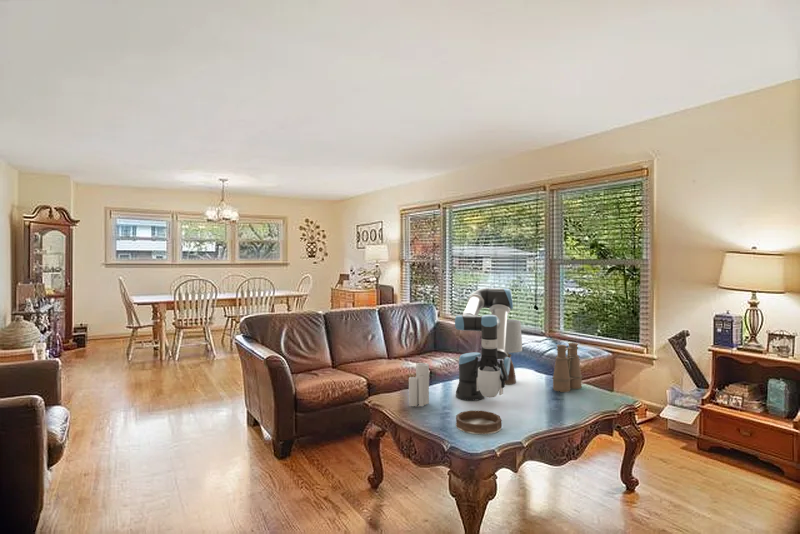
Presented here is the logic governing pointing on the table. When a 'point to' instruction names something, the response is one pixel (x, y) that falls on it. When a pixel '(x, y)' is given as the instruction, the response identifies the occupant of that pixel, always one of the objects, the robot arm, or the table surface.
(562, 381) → the binoculars
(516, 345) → the lamp
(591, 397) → the table surface
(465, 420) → the holder
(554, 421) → the table surface
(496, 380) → the mug
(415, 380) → the vase
